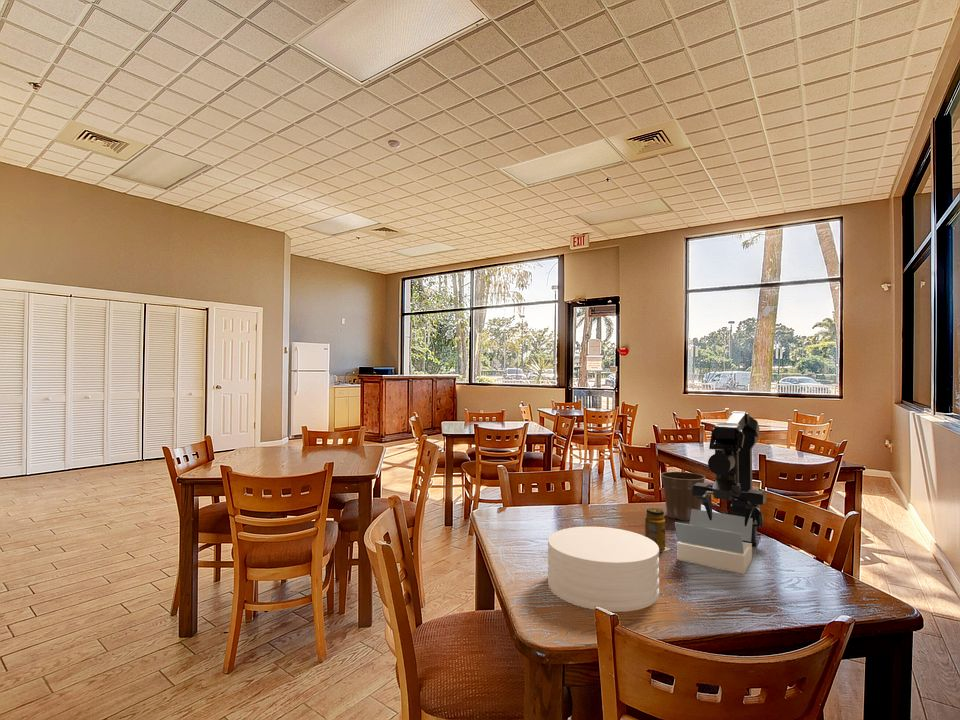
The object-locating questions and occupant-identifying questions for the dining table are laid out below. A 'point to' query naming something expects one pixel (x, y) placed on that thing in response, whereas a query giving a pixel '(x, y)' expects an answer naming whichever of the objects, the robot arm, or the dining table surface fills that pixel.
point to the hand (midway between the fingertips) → (728, 523)
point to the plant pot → (681, 493)
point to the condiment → (656, 527)
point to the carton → (715, 557)
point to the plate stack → (603, 568)
